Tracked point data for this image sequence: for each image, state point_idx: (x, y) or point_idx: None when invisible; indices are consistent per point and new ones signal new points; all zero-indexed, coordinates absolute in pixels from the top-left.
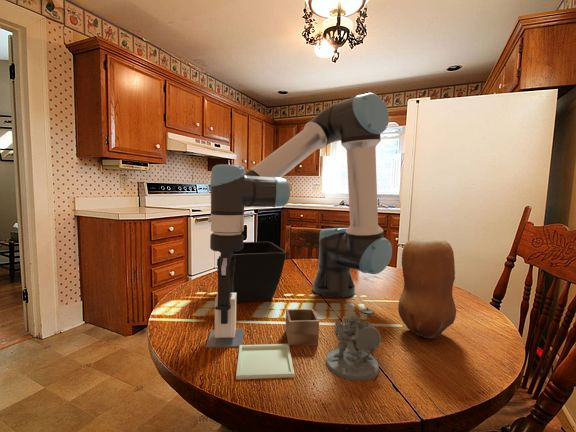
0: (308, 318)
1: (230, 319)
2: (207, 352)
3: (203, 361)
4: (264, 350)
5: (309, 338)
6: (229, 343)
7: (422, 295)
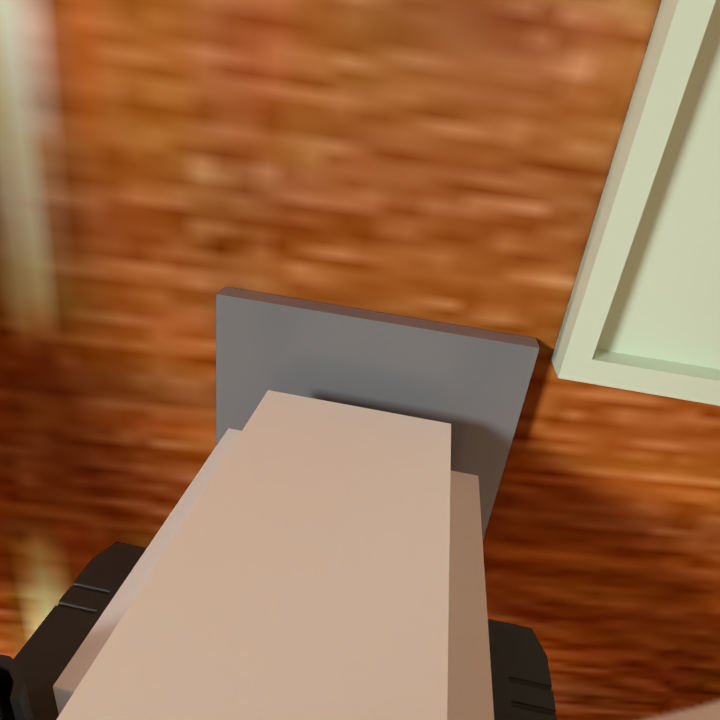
0: None
1: (485, 621)
2: (517, 563)
3: (628, 591)
4: (696, 130)
5: None
6: (470, 439)
7: None
